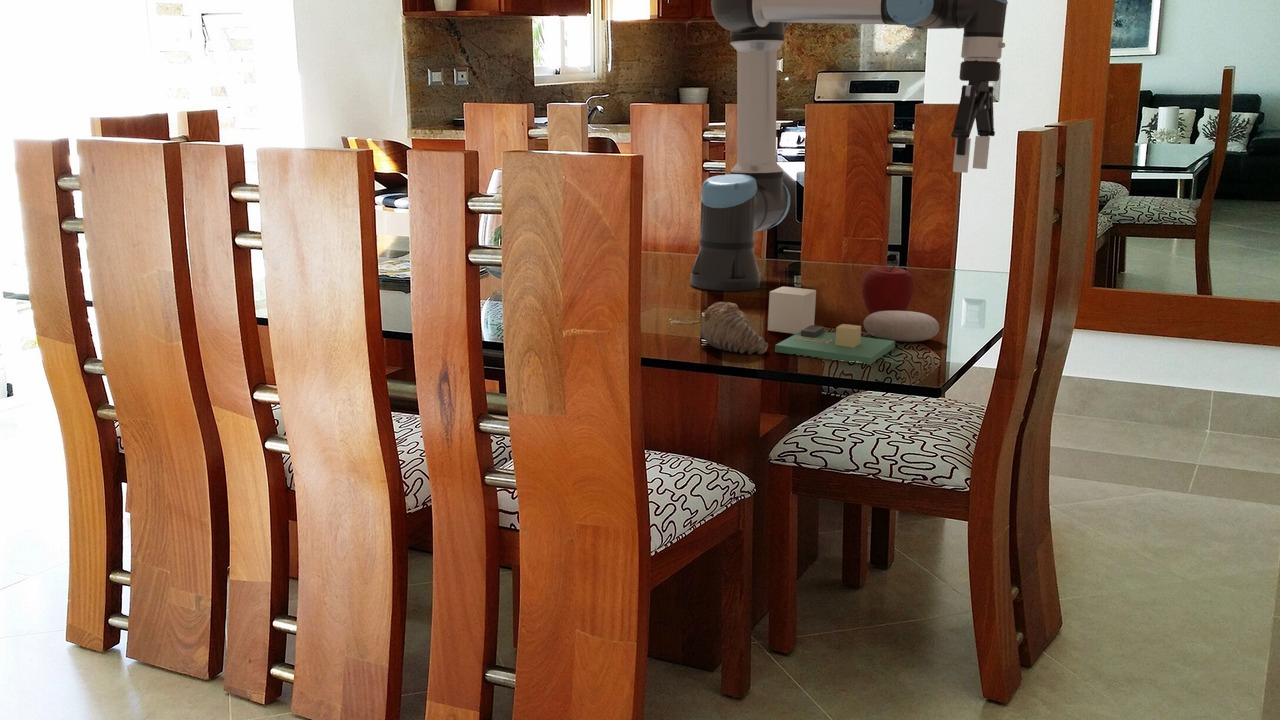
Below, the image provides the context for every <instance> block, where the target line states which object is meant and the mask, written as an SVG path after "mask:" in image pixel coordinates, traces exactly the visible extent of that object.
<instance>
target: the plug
mask: <svg viewBox="0 0 1280 720" xmlns="http://www.w3.org/2000/svg"><path fill="white" fill-rule="evenodd" d="M768 294H769V295H768V297H769V298H768V316H767V331H770V332H777V333H784V334H785V333H786V334H792V335H795V334H797V333H799V332H801V330H803V329H805V328H807V327H809V326H811V325H813V326H815V316H816V300H817V299H816V298H817V289H809V288H801V287H793V286H781V287H777V288H775V289H773V290H770V291H769V293H768Z"/></svg>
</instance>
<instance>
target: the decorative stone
mask: <svg viewBox="0 0 1280 720" xmlns="http://www.w3.org/2000/svg"><path fill="white" fill-rule="evenodd" d="M863 328H864V329H865V331H866V332H867V333H869V334H870V335H871V336H873V337H874V338H877V339H884V340H892V341H895V342H903V343H915V342H923V341H928V340H930V339H932V338H934V337H935V336H936V335H938V333H939V331H940V324H939V322H938V320H937V319H935V318H934V317H933V316H931V315H930V314H926V313H923V312H918V311H910V310H909V311H908V310H906V311H879V312H875V313H872V314H870V313H869V314H868V315H867V316H866V317H865V318H864V320H863Z"/></svg>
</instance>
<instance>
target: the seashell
mask: <svg viewBox="0 0 1280 720" xmlns="http://www.w3.org/2000/svg"><path fill="white" fill-rule="evenodd" d="M699 327H700V328H699V332H700V335H701V336H702V338H703V339H704V340H705V342H706V343H708V344H709V345H710V346H711V347H712V348H715V349H717V350H721V351H726V352H727V351H728V352H730V353H733V352H734V353H739V354H742V355H743V354H744V353H747V354H748V355H753V353H754V354H758V355H762V354H764V353H765V352H767V350H768V347H769V345H770V344H769V343H768V342H766V341H765V338H764V337H762V336H761V335H759V334H758V332H756V331H754V330H753V329H752V326H751V322H750V319H749V317H747V314H745V313H744V312H743V311H742V310H740V309H739V306H738V304H737V303H736V302H730V301H725V302H724V301H717V302H714V303H713V304H711V305H710V306H709V307H708V308H707V309H706V310H704V314H703V317H702V318H701V321H700V326H699Z"/></svg>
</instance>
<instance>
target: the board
mask: <svg viewBox="0 0 1280 720" xmlns="http://www.w3.org/2000/svg"><path fill="white" fill-rule="evenodd" d="M861 333H862V326H861V325H856V324H849V323H848V324H847V323H846V324H845V323H842V324H839V325H837V326H836V330H835V332H827V331H825V326H821V325H814V326H813V325H811V326H809V327H807V328H805V329H803V330H801V332H799V333H797V334H792V335H791V336H789V337H787V338H786V339H784V340H781V341H780V342H778V343H776V344H774V346H775V347H774V353H778V354H779V353H780V354H786V355H787V354H788V355H793V354H796V355H795V356H800V355H803V356H802V357H807V356H811V357H810V358H815V357H821V358H820V359H822V358H828V359H827V360H829V359H837V360H844V361H859V362H862V363H865V364H868V365H867V366H871V365H872V363H873V364H874V363H875V362H877V361H878V360H879V358H880V357H881V358H883V357H884V356H886V354H888V353H889V352H891V351H892V350H893V349H895V347H896V341H892V340H886V339H881V338H877V337H866V336H862V335H861ZM883 355H884V356H883ZM881 358H880V359H881ZM877 359H878V360H877ZM876 360H877V361H876ZM865 364H864V365H865Z"/></svg>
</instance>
